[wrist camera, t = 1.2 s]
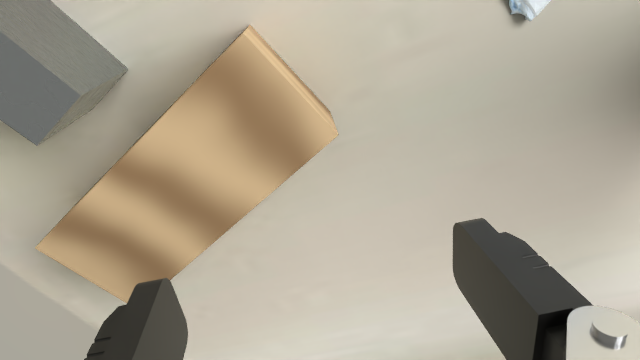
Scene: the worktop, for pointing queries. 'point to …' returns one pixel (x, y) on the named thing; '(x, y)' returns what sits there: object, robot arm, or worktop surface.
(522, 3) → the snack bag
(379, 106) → the worktop surface
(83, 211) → the oak ledge
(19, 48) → the aluminium block
